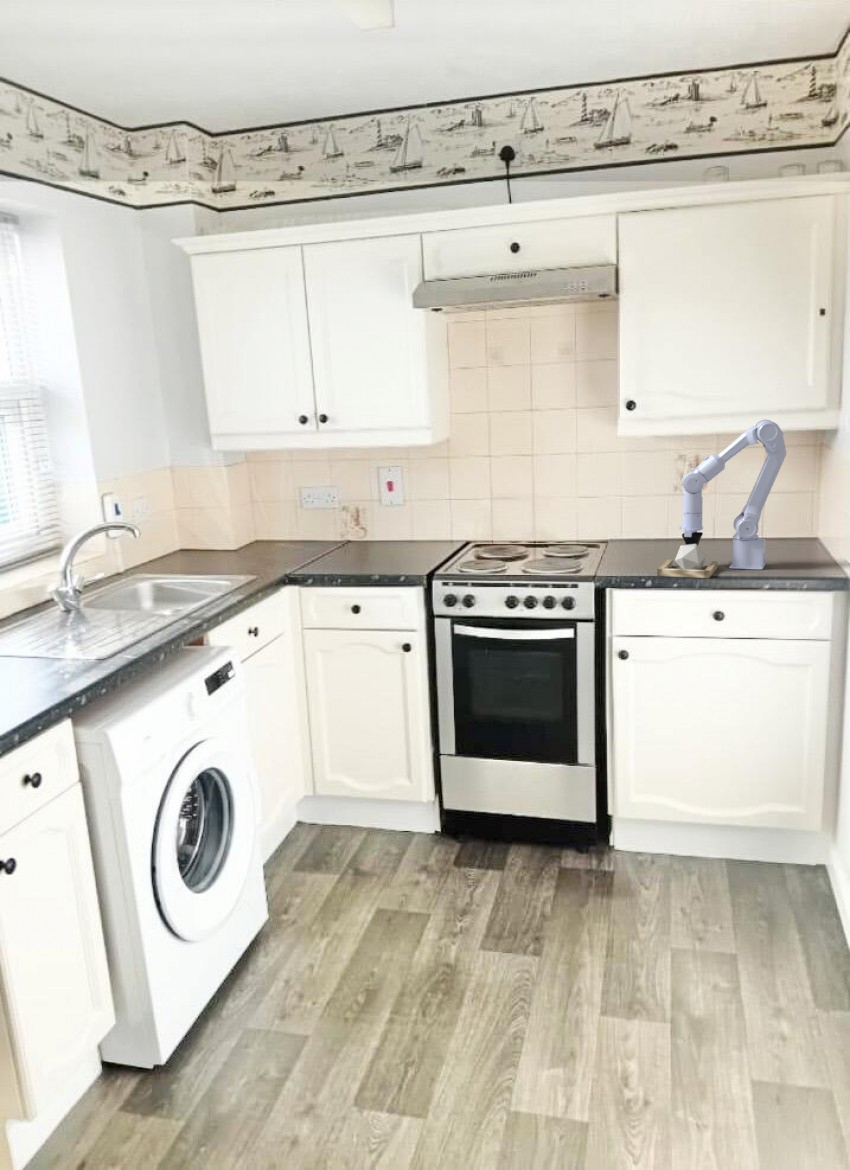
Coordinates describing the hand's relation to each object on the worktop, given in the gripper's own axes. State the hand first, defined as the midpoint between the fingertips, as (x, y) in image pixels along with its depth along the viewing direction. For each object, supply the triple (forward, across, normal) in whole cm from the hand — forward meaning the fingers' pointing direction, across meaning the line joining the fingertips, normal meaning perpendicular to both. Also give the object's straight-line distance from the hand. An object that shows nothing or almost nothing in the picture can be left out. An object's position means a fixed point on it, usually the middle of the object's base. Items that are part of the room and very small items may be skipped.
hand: (692, 556), depth 277 cm
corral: (+3, +6, 0) cm, 7 cm away
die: (+4, +4, 0) cm, 6 cm away
